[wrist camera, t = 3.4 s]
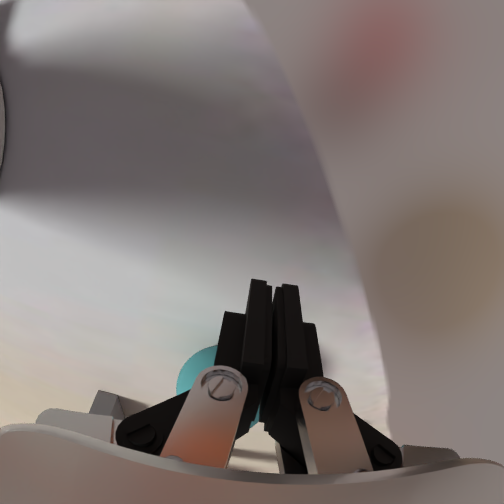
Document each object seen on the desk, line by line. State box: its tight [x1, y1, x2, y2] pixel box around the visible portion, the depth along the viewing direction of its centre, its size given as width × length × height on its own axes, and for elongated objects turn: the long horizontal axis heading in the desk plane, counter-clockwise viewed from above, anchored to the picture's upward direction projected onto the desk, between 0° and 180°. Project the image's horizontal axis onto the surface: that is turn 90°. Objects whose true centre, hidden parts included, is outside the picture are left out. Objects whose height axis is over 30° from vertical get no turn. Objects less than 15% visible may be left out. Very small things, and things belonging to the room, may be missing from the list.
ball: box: [176, 346, 260, 428], centre depth 18 cm, size 6×6×6 cm
